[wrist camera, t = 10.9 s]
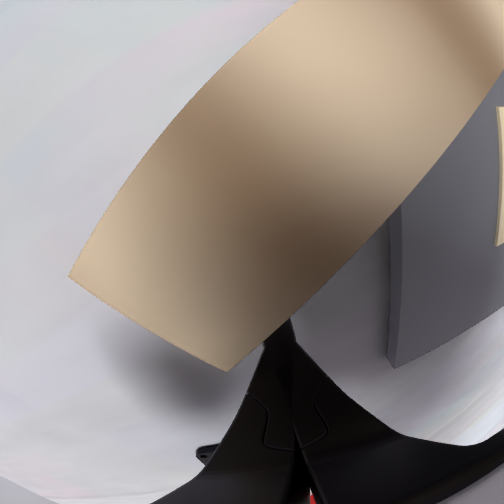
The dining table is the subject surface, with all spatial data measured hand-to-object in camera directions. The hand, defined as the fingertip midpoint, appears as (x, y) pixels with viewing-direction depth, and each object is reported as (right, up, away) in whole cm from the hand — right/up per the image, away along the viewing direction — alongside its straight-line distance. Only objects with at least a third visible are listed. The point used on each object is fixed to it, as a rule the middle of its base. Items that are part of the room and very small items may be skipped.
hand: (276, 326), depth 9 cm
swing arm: (+4, +10, -3) cm, 11 cm away
